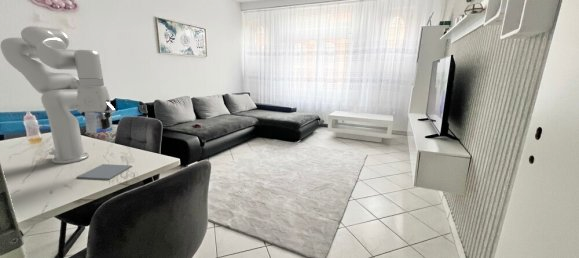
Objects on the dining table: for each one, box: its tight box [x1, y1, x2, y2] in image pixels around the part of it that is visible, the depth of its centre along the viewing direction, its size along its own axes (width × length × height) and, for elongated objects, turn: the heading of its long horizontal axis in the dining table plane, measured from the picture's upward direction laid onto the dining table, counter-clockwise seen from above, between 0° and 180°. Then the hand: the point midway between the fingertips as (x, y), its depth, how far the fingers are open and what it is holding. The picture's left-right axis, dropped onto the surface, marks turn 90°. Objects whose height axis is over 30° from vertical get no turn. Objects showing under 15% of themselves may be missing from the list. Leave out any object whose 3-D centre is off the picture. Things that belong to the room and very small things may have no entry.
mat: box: [76, 163, 133, 181], centre depth 100 cm, size 13×13×1 cm
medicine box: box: [84, 111, 113, 134], centre depth 100 cm, size 8×4×9 cm, turn 174°
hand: (99, 127), depth 100 cm, fingers closed on medicine box, 4 cm apart
